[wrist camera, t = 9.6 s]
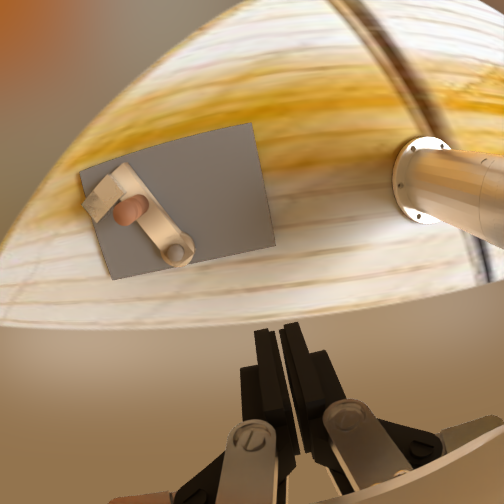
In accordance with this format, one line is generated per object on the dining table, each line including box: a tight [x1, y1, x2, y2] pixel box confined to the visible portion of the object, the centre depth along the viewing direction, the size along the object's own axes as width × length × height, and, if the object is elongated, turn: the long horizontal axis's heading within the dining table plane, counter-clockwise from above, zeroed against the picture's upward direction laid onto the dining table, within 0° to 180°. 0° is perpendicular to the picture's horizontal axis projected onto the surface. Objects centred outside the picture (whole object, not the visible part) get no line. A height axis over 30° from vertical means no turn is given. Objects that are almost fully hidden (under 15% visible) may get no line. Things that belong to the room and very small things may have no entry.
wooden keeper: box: [81, 173, 127, 223], centre depth 32 cm, size 3×5×3 cm, turn 129°
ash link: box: [112, 162, 196, 268], centre depth 31 cm, size 14×4×7 cm, turn 36°
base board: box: [79, 123, 276, 280], centre depth 35 cm, size 22×15×2 cm
